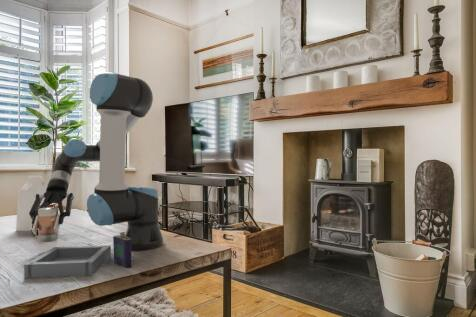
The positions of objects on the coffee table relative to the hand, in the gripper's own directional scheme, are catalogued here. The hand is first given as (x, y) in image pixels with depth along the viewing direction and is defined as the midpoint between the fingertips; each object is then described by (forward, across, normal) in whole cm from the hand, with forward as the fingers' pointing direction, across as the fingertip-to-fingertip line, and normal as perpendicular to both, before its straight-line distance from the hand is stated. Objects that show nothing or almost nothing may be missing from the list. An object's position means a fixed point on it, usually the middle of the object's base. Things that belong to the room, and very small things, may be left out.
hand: (44, 231), depth 123 cm
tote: (+19, -14, +7) cm, 24 cm away
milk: (-30, +21, -41) cm, 55 cm away
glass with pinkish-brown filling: (0, 0, -5) cm, 5 cm away
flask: (+20, -30, +8) cm, 37 cm away
